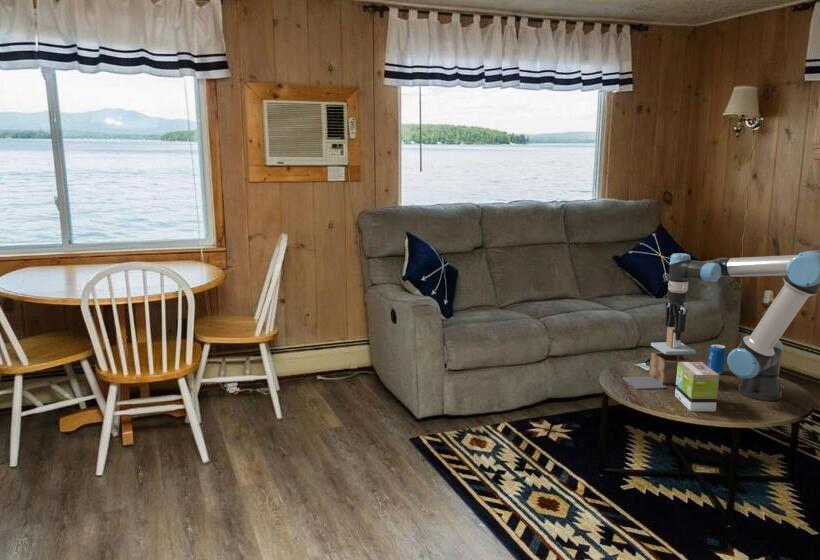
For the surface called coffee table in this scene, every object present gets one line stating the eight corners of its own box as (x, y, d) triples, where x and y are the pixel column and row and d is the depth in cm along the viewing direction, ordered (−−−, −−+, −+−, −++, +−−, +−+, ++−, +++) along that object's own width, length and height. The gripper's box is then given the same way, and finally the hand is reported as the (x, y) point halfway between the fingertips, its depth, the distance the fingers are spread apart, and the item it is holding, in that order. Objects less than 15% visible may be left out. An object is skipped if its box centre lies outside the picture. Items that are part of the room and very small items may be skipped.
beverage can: (704, 370, 285) (706, 344, 282) (716, 369, 286) (719, 343, 284) (714, 375, 279) (716, 348, 276) (726, 374, 280) (729, 347, 278)
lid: (695, 355, 265) (697, 331, 263) (665, 356, 263) (667, 332, 261) (679, 346, 277) (681, 323, 275) (650, 347, 276) (652, 324, 274)
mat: (666, 388, 262) (667, 387, 262) (636, 389, 261) (636, 388, 261) (651, 377, 275) (651, 376, 275) (622, 378, 273) (622, 377, 273)
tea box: (673, 396, 254) (677, 360, 251) (699, 397, 254) (702, 361, 251) (689, 411, 239) (693, 373, 236) (716, 412, 239) (720, 374, 236)
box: (690, 383, 268) (692, 360, 266) (662, 384, 266) (664, 361, 265) (675, 374, 279) (677, 352, 278) (649, 374, 278) (650, 352, 276)
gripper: (658, 287, 273) (654, 340, 278) (679, 295, 257) (674, 351, 261) (675, 286, 274) (671, 339, 279) (697, 295, 258) (692, 351, 262)
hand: (673, 345), depth 270 cm, fingers closed on lid, 4 cm apart
